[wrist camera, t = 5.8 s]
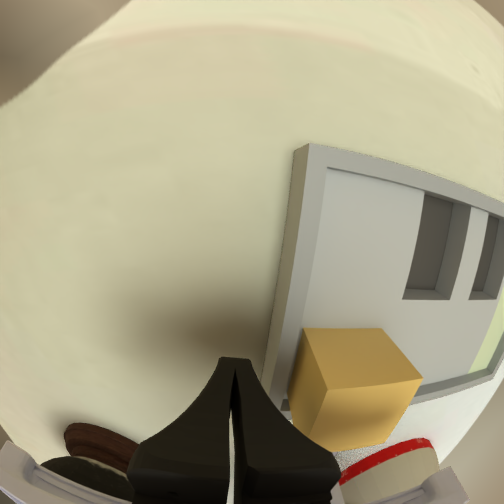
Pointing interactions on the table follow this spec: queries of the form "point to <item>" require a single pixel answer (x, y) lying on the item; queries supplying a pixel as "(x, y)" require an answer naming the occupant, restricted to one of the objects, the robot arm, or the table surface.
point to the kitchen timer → (389, 471)
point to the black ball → (96, 460)
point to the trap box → (389, 269)
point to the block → (349, 387)
